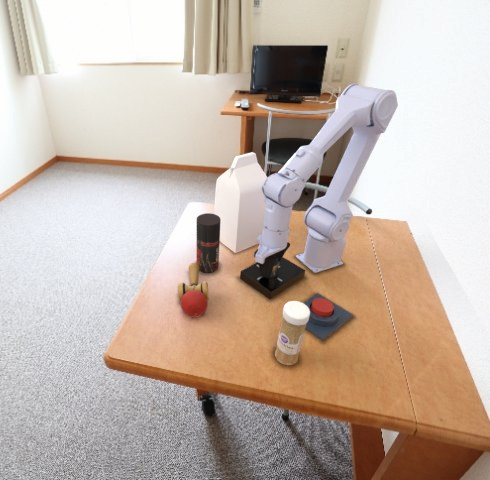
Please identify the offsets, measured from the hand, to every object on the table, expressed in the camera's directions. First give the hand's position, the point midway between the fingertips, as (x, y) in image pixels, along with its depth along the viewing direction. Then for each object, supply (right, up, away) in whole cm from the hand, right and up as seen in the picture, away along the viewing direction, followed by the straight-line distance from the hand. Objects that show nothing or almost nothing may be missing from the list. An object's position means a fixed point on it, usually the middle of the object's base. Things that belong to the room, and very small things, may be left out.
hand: (269, 271), depth 88 cm
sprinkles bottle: (-1, -16, -18) cm, 24 cm away
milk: (-4, +9, +19) cm, 21 cm away
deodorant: (-15, 0, +7) cm, 16 cm away
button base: (+9, -9, -9) cm, 16 cm away
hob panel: (+1, -2, +2) cm, 3 cm away
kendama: (-19, -6, -2) cm, 20 cm away
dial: (0, 0, 0) cm, 0 cm away
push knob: (+9, -8, -10) cm, 16 cm away
